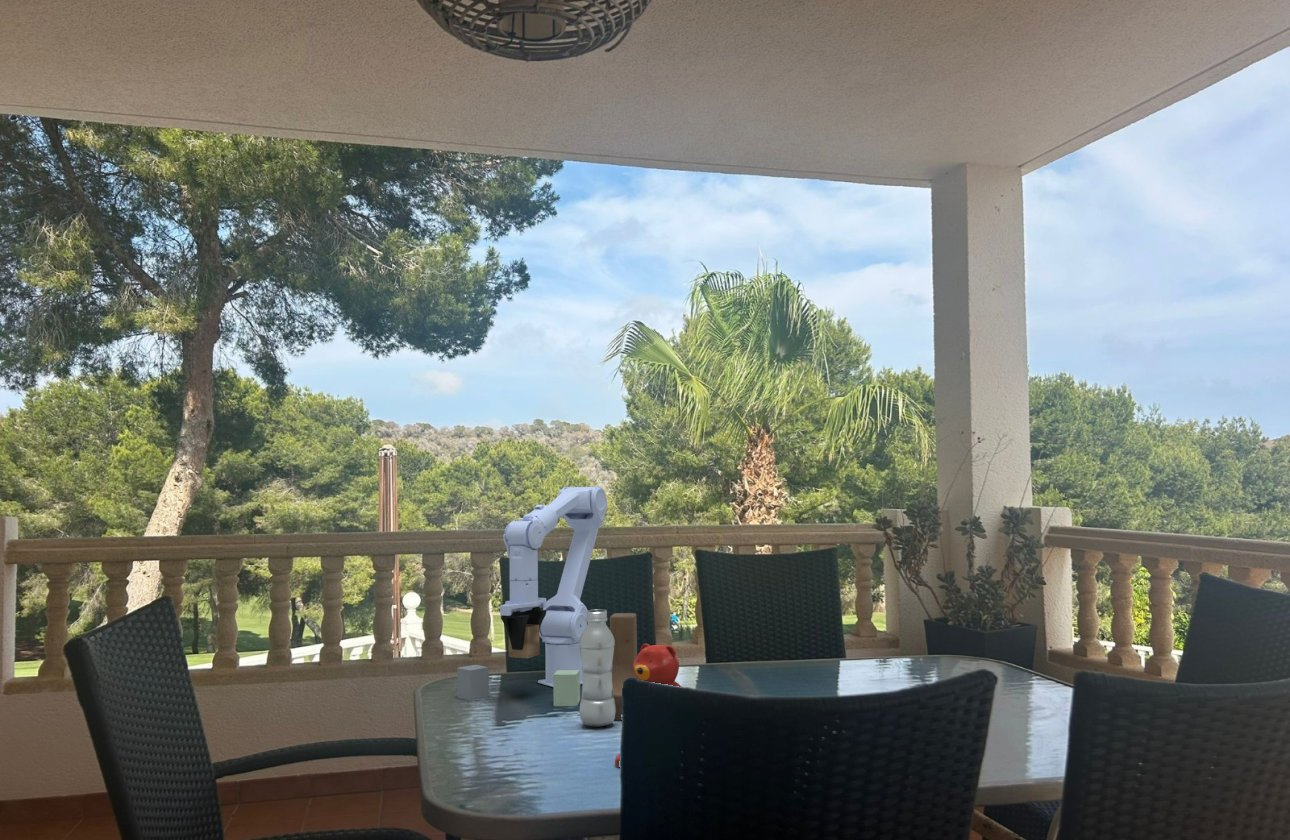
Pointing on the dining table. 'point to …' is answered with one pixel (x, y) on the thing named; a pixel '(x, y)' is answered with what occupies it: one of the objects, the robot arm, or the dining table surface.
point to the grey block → (472, 682)
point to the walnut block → (527, 643)
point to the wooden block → (623, 653)
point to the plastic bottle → (597, 671)
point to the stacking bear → (655, 667)
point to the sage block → (566, 687)
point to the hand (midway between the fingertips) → (524, 647)
